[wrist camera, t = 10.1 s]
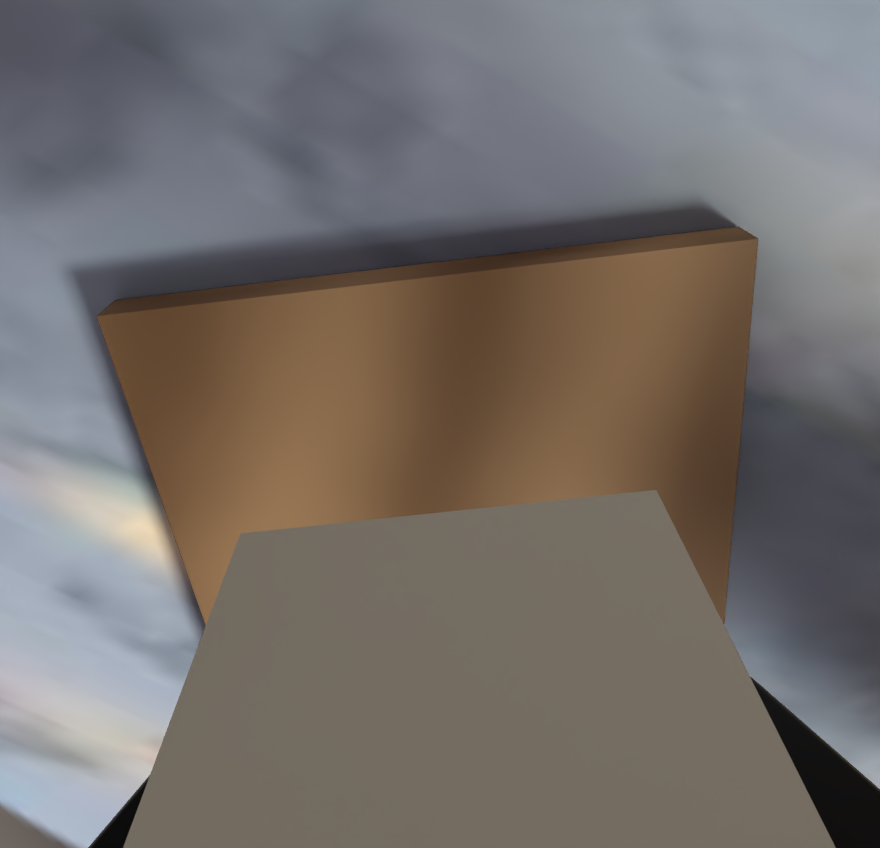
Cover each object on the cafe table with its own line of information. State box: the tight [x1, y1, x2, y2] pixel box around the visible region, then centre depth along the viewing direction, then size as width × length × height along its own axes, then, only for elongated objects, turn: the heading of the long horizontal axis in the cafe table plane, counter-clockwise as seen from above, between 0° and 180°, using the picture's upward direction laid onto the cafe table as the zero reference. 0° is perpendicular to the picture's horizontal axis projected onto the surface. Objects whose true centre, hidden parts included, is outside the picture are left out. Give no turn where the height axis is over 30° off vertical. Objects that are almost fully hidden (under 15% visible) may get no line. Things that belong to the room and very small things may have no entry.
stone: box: [123, 490, 836, 848], centre depth 6 cm, size 4×4×4 cm
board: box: [97, 227, 758, 625], centre depth 18 cm, size 13×13×1 cm
